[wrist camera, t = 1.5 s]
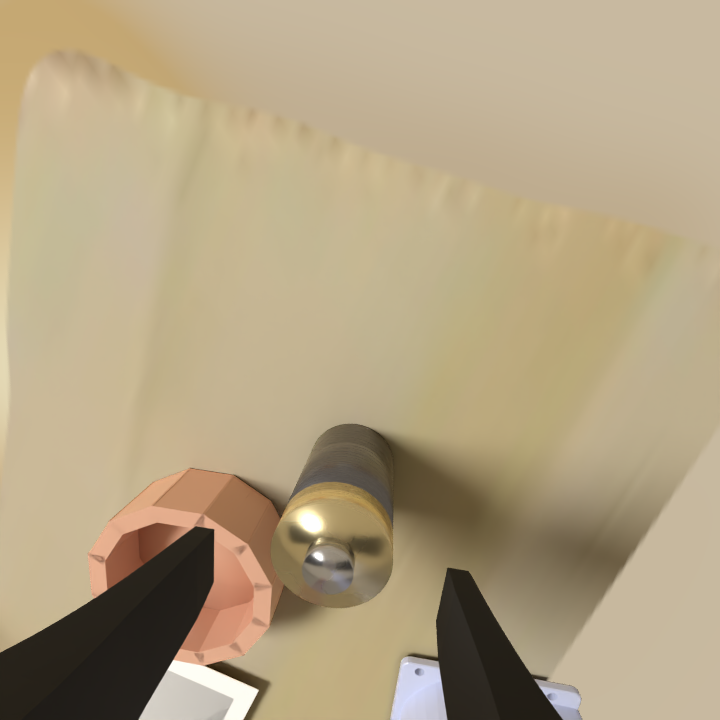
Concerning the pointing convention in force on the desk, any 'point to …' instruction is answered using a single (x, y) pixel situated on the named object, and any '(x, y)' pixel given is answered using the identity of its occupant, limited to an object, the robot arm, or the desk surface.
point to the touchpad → (198, 695)
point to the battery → (339, 521)
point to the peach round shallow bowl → (231, 555)
